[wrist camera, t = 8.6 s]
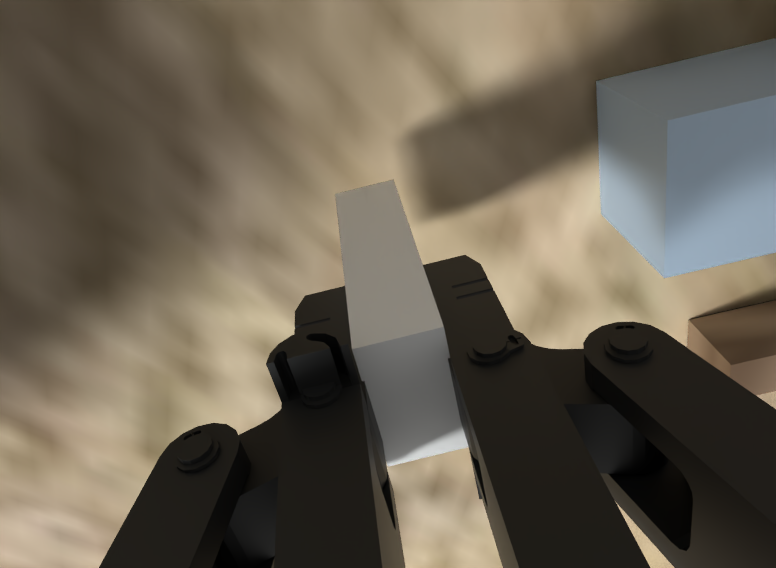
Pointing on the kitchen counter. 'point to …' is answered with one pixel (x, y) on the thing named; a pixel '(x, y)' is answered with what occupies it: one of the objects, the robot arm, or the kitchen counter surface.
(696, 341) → the bay
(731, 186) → the blue t-shaped block
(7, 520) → the kitchen counter surface
